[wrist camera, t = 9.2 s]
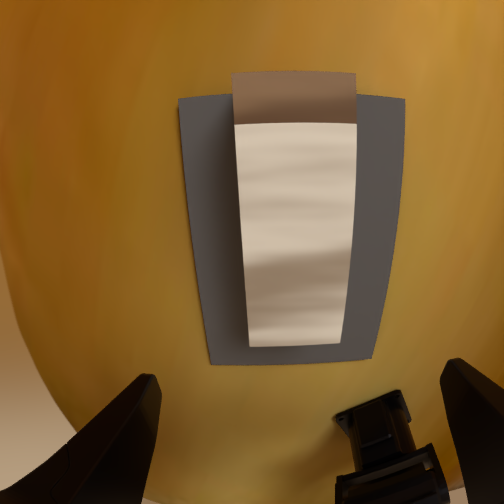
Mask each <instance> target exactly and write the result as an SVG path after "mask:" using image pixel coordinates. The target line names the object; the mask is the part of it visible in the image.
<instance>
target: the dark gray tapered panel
mask: <svg viewBox="0 0 504 504" xmlns="http://www.w3.org/2000/svg"><path fill="white" fill-rule="evenodd" d="M178 102H179V116H180V129H181V141H182V152H183V163H184V173H185V183H186V193H187V202H188V210H189V219H190V227H191V235H192V243H193V251H194V258H195V265H196V272H197V279H198V286H199V293H200V299H201V306H202V312H203V318H204V325H205V331H206V337H207V342H208V348H209V354H210V359H211V365H284V364H309V363H326V362H341V361H353V360H364V359H372V355H373V351H374V347H375V343H376V339H377V335H378V330H379V326H380V322H381V317H382V312H383V308H384V303H385V298H386V293H387V288H388V282H389V277H390V271H391V265H392V259H393V252H394V246H395V239H396V231H397V224H398V215H399V206H400V196H401V186H402V173H403V158H404V136H405V99H400V98H392V97H383V96H373V95H361V94H356V103H357V153H356V185H355V205H354V221H353V235H352V247H351V258H350V269H349V278H348V287H347V296H346V304H345V312H344V319H343V326H342V333H341V340H340V343H334V344H318V345H298V346H267V347H250V345H249V332H248V318H247V305H246V291H245V277H244V263H243V249H242V234H241V219H240V205H239V189H238V174H237V158H236V142H235V126H234V110H233V94H221V95H209V96H199V97H190V98H181V99H178Z"/></svg>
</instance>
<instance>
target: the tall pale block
mask: <svg viewBox="0 0 504 504" xmlns="http://www.w3.org/2000/svg"><path fill="white" fill-rule="evenodd" d="M231 75H232V93H233V110H234V126H235V142H236V158H237V174H238V189H239V205H240V219H241V234H242V249H243V263H244V277H245V291H246V305H247V318H248V332H249V345H250V347H267V346H298V345H318V344H334V343H340V340H341V333H342V326H343V319H344V312H345V304H346V296H347V287H348V278H349V269H350V258H351V247H352V235H353V221H354V205H355V185H356V153H357V103H356V73H342V72H320V71H265V72H244V73H231Z"/></svg>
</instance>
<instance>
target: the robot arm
mask: <svg viewBox="0 0 504 504" xmlns="http://www.w3.org/2000/svg"><path fill="white" fill-rule="evenodd" d="M440 386H441V391H442V395H443V400H444V405H445V410H446V415H447V420H448V424H449V427H450V431H451V434H452V438H453V441H454V445H455V448H456V452H457V456H458V460H459V464H460V468H461V472H462V476H463V480H464V485H465V489H466V493H467V498H468V504H504V389H503V388H501V387H500V386H498V385H497V384H496V383H494V382H493V381H492V380H490V379H489V378H488V377H486V376H485V375H483V374H482V373H481V372H479V371H478V370H476V369H475V368H474V367H472V366H471V365H470V364H468V363H467V362H465V361H464V360H463V359H461V358H454V359H450V360H448V361H447V363H446V365H445V368H444V370H443V372H442V374H441V376H440ZM161 400H162V393H161V389H160V387H159V384H158V381H157V378H156V376H155V375H153V374H145V373H143V374H140V375H139V376H138V377H137V378H136V379H135V380H134V381H133V382H132V383H130V384H129V385H128V386H127V387H126V388H125V389H124V390H123V391H122V392H121V393H120V394H119V395H118V396H117V397H116V398H114V399H113V400H112V401H111V402H110V403H109V404H108V405H107V406H106V407H105V408H104V409H103V410H102V411H100V412H99V413H98V414H97V415H96V416H95V417H94V418H93V419H92V420H91V421H90V422H89V423H88V424H86V425H85V426H84V427H83V428H82V429H81V430H80V431H79V432H78V433H77V434H76V435H75V436H73V437H72V438H71V439H70V440H69V441H68V442H67V444H65V445H64V446H62V447H61V448H60V449H59V450H58V451H57V452H56V453H55V454H53V455H52V456H51V457H50V458H49V459H48V460H47V461H45V462H44V463H43V464H41V465H40V466H39V467H37V468H36V469H35V470H33V471H32V472H30V473H29V474H27V475H26V476H25V477H24V478H22V479H20V480H19V481H18V482H16V483H15V484H13V485H12V486H10V487H8V488H6V489H4V490H1V491H0V504H141V502H142V498H143V493H144V489H145V485H146V480H147V476H148V472H149V468H150V464H151V460H152V456H153V452H154V448H155V443H156V438H157V431H158V423H159V415H160V407H161ZM335 418H336V422H337V423H338V424H339V425H340V427H341V428H342V429H343V431H344V432H345V433H346V434H347V436H348V437H349V438H350V443H351V448H352V454H353V460H354V466H355V472H353V473H350V474H347V475H340V476H337V477H336V484H335V504H450V497H449V491H448V487H447V484H446V480H445V477H444V474H443V471H442V469H441V466H440V463H439V461H438V458H437V455H436V453H435V450H434V447H433V445H432V443H429V444H427V445H426V446H425V447H422V448H420V449H418V450H416V446H415V443H414V440H413V437H412V434H411V431H410V428H409V425H408V423H410V422H411V417H410V414H409V411H408V408H407V406H406V403H405V400H404V398H403V395H402V392H401V390H395V391H393V392H391V393H388V394H386V395H384V396H382V397H379V398H377V399H375V400H372V401H370V402H367V403H365V404H363V405H360V406H358V407H355V408H352V409H350V410H347V411H345V412H342V413H339V414H337V415H336V416H335ZM429 467H430V469H429V470H427V471H426V470H425V469H427V468H429Z"/></svg>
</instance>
